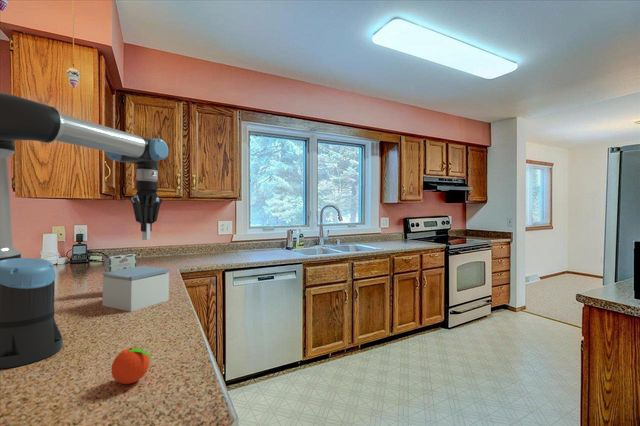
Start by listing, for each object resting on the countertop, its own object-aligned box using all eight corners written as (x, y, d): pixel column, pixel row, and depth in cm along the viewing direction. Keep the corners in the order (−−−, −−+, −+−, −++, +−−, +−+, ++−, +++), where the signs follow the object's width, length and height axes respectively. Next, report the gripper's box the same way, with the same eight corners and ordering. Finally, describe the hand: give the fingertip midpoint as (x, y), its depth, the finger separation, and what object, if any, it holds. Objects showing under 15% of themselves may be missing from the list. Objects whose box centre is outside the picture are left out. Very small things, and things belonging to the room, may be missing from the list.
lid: (129, 280, 113) (129, 277, 113) (101, 276, 119) (101, 273, 119) (169, 272, 128) (169, 269, 128) (141, 268, 134) (141, 265, 134)
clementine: (160, 373, 71) (160, 341, 71) (142, 391, 64) (142, 356, 64) (124, 373, 71) (125, 341, 71) (103, 390, 64) (103, 355, 64)
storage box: (131, 311, 113) (131, 280, 113) (102, 305, 120) (102, 276, 120) (168, 300, 128) (169, 273, 128) (141, 295, 135) (141, 269, 134)
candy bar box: (130, 289, 145) (130, 253, 144) (136, 291, 142) (137, 254, 142) (103, 295, 135) (103, 256, 135) (109, 296, 132) (110, 257, 132)
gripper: (138, 178, 120) (137, 241, 120) (167, 182, 132) (166, 239, 132) (125, 179, 123) (124, 240, 123) (154, 182, 135) (153, 238, 135)
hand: (146, 239), depth 127 cm, fingers closed
